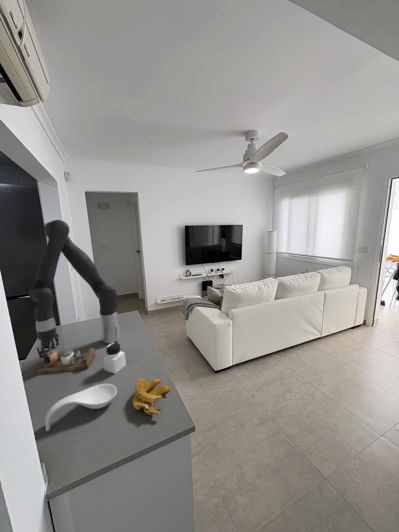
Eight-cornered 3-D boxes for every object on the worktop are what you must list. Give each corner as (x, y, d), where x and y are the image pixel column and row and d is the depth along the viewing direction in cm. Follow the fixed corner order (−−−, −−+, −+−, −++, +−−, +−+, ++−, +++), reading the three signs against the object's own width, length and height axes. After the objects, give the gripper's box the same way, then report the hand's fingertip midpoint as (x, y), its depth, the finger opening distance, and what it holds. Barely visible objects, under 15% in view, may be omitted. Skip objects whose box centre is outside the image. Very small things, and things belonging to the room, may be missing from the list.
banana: (142, 429, 72) (141, 414, 71) (125, 394, 87) (124, 382, 86) (182, 406, 81) (181, 393, 80) (160, 378, 96) (159, 367, 95)
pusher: (81, 358, 111) (79, 349, 110) (75, 366, 105) (73, 356, 104) (78, 358, 111) (77, 349, 110) (72, 366, 105) (71, 357, 104)
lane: (95, 356, 114) (94, 348, 113) (88, 368, 104) (86, 359, 103) (50, 360, 111) (49, 352, 110) (38, 373, 101) (37, 364, 101)
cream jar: (76, 359, 111) (75, 349, 110) (72, 366, 105) (70, 355, 104) (65, 360, 110) (63, 350, 109) (59, 367, 104) (57, 356, 103)
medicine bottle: (126, 365, 106) (124, 342, 104) (115, 374, 99) (112, 350, 97) (115, 362, 109) (113, 340, 107) (104, 370, 102) (101, 347, 100)
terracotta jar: (60, 358, 109) (58, 347, 108) (54, 365, 104) (52, 353, 103) (48, 359, 109) (46, 348, 108) (41, 366, 103) (40, 354, 102)
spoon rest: (112, 386, 92) (110, 371, 91) (121, 403, 83) (119, 386, 82) (44, 417, 78) (41, 400, 76) (47, 441, 69) (43, 422, 67)
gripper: (45, 334, 97) (51, 368, 99) (62, 320, 111) (66, 350, 114) (27, 335, 96) (33, 369, 99) (46, 321, 110) (51, 352, 113)
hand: (51, 359), depth 106 cm, fingers closed on terracotta jar, 5 cm apart
